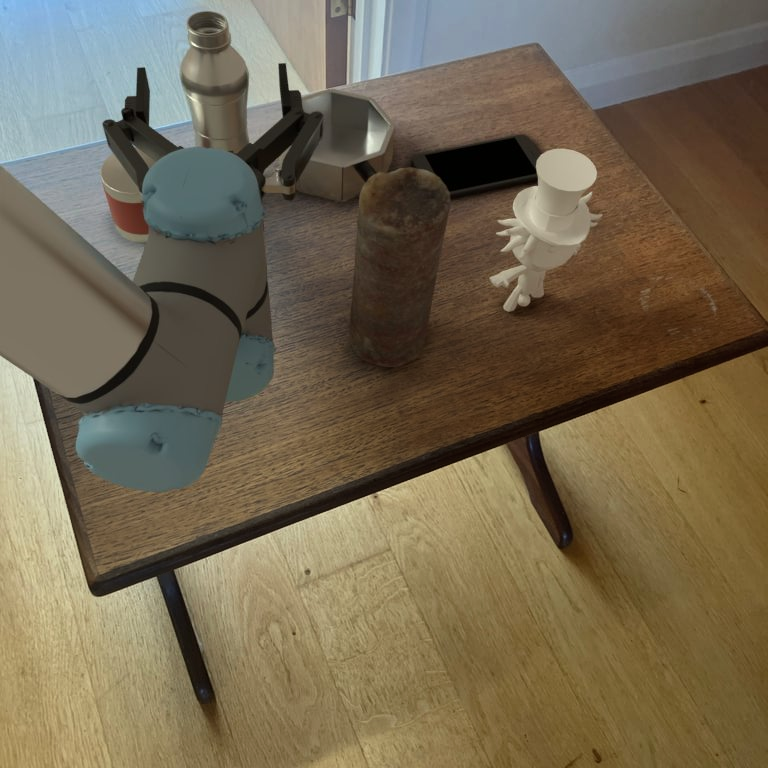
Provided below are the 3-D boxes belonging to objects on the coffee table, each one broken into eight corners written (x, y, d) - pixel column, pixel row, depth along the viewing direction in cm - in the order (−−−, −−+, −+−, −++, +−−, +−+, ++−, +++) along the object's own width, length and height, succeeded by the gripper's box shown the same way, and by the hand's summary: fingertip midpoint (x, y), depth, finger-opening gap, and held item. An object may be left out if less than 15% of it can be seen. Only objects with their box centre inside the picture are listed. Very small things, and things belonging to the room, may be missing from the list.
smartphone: (407, 159, 94) (408, 153, 93) (525, 136, 98) (527, 130, 97) (430, 204, 90) (431, 198, 90) (552, 179, 94) (554, 173, 93)
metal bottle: (217, 160, 92) (194, -7, 75) (270, 182, 91) (258, 16, 74) (185, 196, 89) (153, 29, 72) (239, 218, 88) (220, 53, 71)
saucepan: (265, 145, 94) (262, 109, 90) (356, 115, 98) (358, 79, 94) (340, 250, 86) (340, 216, 82) (436, 213, 90) (441, 178, 86)
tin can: (103, 235, 85) (87, 184, 79) (131, 191, 89) (117, 140, 83) (164, 250, 85) (152, 200, 79) (189, 205, 88) (180, 155, 82)
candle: (425, 377, 78) (453, 229, 61) (348, 375, 77) (355, 225, 61) (422, 314, 82) (448, 159, 65) (349, 311, 82) (356, 155, 65)
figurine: (503, 351, 80) (546, 220, 65) (459, 298, 83) (489, 161, 68) (585, 310, 84) (643, 176, 69) (539, 260, 87) (584, 123, 72)
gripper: (79, 272, 72) (92, 112, 83) (362, 255, 75) (338, 104, 86) (56, 210, 65) (74, 47, 77) (366, 194, 69) (339, 39, 80)
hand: (213, 76), depth 81 cm, fingers open, 13 cm apart
